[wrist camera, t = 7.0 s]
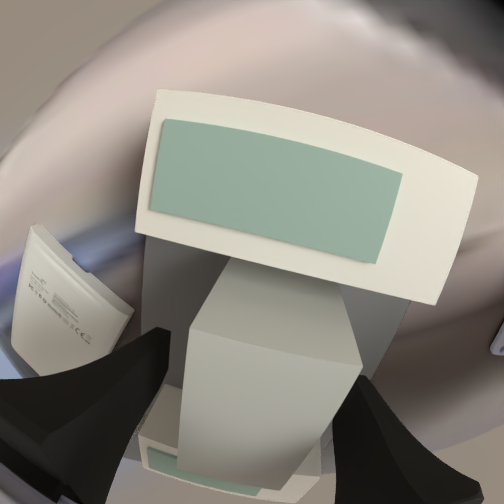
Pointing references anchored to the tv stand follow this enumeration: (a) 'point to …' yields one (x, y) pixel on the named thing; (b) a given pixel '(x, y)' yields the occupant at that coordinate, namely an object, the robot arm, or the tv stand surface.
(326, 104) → the tv stand surface
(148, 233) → the rail panel
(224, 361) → the block
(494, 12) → the tv stand surface
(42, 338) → the external hard drive
